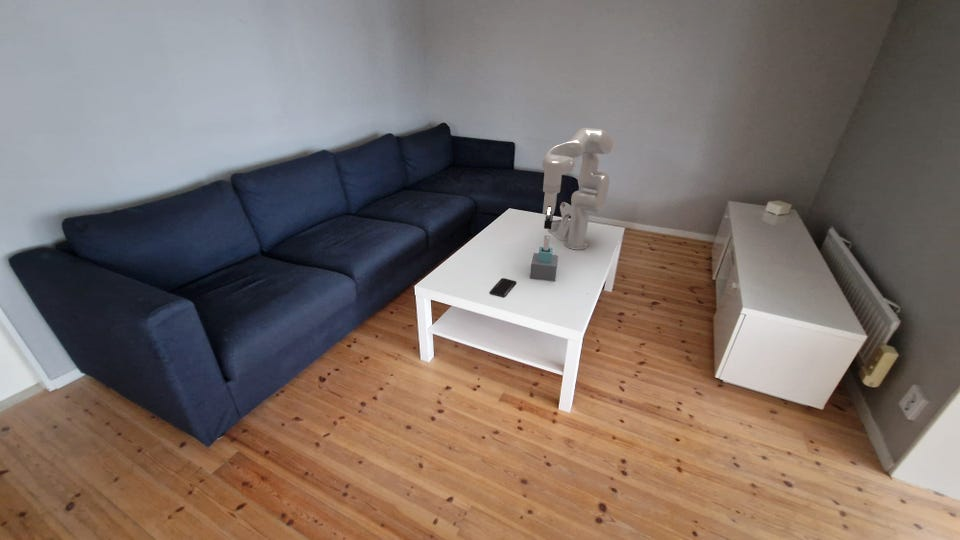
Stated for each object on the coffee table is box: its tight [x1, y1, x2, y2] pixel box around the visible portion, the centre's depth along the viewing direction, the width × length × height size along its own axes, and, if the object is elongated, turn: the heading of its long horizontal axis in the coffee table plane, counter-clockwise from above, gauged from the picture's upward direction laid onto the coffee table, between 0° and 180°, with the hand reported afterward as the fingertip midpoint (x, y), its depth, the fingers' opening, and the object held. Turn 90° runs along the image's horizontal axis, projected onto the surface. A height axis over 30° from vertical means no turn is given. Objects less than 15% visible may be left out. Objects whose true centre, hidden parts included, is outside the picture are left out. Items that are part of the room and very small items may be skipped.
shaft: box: [543, 235, 550, 252], centre depth 187 cm, size 2×2×14 cm
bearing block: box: [529, 252, 559, 282], centre depth 191 cm, size 12×12×8 cm
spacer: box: [537, 246, 554, 263], centre depth 188 cm, size 6×6×5 cm
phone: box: [489, 277, 517, 298], centre depth 181 cm, size 8×1×15 cm
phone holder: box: [547, 201, 572, 242], centre depth 232 cm, size 17×10×18 cm, turn 19°
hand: (548, 225), depth 181 cm, fingers open, 6 cm apart
